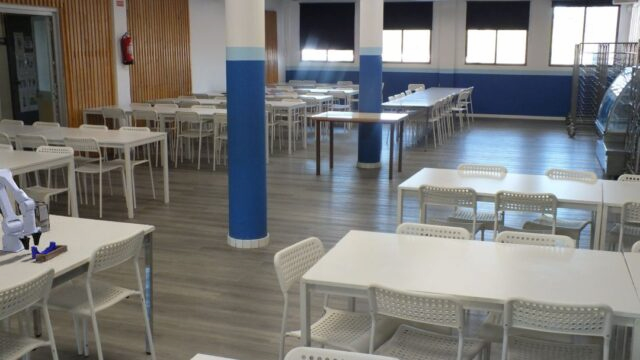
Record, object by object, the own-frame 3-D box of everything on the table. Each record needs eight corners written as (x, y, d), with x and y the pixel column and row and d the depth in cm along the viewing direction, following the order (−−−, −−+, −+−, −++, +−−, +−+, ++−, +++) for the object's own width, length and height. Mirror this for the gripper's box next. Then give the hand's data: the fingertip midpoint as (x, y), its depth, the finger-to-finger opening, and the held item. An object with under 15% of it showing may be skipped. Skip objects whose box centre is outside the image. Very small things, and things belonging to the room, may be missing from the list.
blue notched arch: (51, 251, 350) (50, 240, 349) (56, 253, 348) (55, 242, 347) (30, 257, 341) (29, 246, 340) (35, 259, 338) (34, 247, 337)
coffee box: (51, 230, 389) (48, 204, 386) (41, 233, 384) (38, 206, 380) (41, 228, 394) (39, 202, 390) (31, 230, 388) (29, 204, 385)
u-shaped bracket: (35, 260, 335) (35, 255, 335) (57, 249, 353) (57, 244, 352) (46, 261, 334) (45, 255, 333) (67, 250, 351) (67, 245, 350)
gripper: (26, 226, 335) (29, 252, 338) (44, 219, 349) (47, 244, 351) (14, 225, 336) (17, 251, 339) (33, 218, 350) (35, 243, 353)
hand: (31, 247), depth 345 cm, fingers open, 7 cm apart
